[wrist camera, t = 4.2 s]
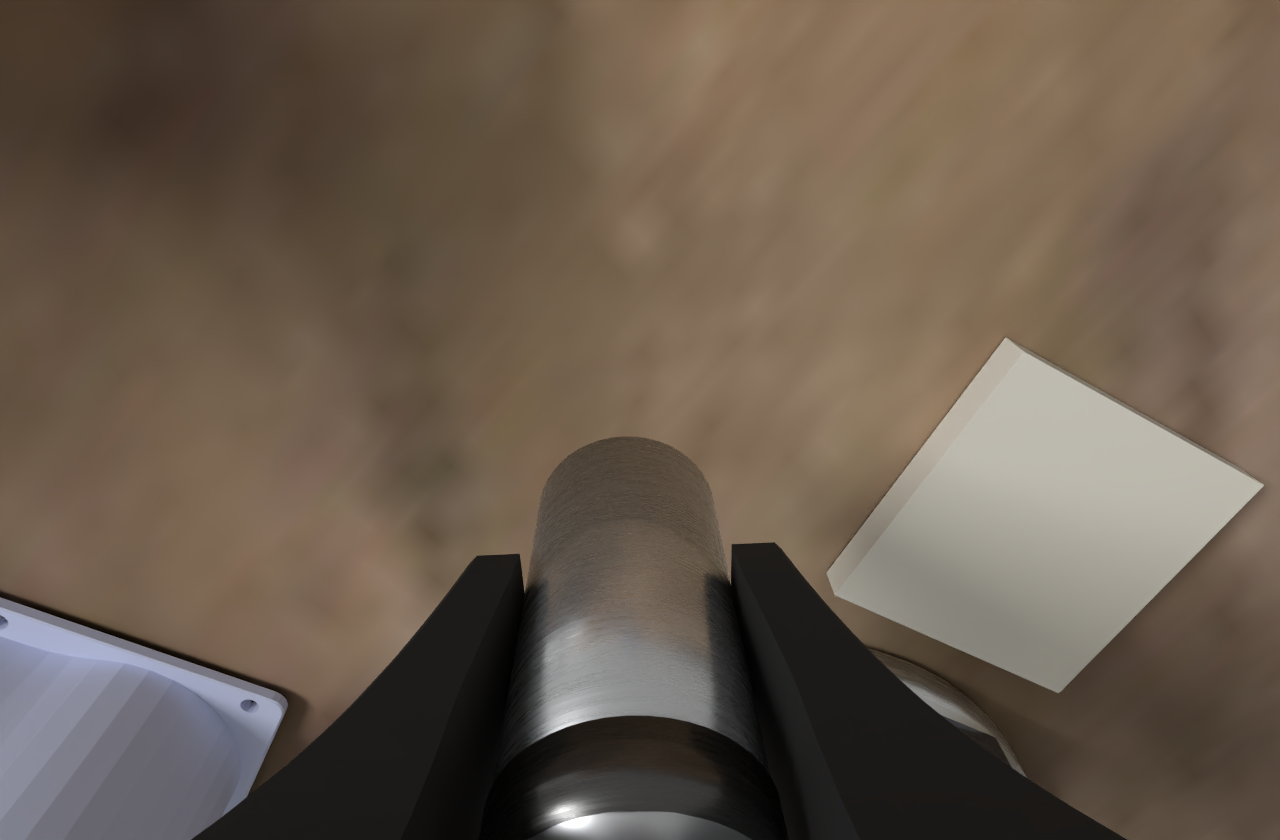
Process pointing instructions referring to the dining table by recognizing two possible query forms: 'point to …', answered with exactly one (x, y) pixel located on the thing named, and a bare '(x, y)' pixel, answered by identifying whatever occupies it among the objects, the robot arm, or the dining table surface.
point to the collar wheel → (952, 707)
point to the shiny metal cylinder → (630, 666)
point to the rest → (1037, 521)
